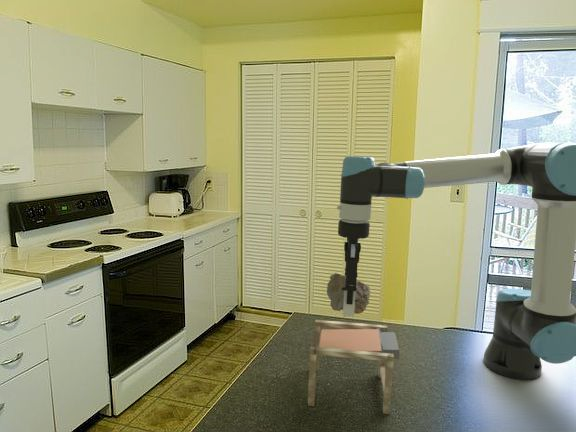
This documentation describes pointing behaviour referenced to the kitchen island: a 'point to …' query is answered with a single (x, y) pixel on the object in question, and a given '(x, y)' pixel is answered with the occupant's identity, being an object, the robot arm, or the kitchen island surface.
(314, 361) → the frame
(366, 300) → the rock
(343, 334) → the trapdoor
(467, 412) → the kitchen island surface
